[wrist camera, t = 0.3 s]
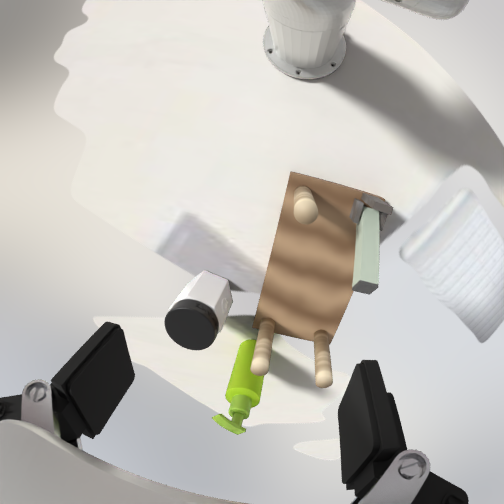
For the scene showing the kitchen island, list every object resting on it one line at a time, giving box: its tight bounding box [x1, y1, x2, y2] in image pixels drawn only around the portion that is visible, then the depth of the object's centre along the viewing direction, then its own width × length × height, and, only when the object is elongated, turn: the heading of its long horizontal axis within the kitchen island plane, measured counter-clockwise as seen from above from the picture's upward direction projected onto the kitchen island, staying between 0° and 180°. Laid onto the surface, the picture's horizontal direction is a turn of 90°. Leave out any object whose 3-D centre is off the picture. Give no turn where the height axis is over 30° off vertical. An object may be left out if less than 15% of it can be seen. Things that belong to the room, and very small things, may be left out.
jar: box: [165, 270, 233, 350], centre depth 45 cm, size 9×8×12 cm
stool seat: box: [250, 172, 393, 388], centre depth 39 cm, size 28×15×14 cm, turn 168°
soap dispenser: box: [212, 340, 264, 435], centre depth 45 cm, size 6×7×20 cm
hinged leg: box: [352, 206, 379, 294], centre depth 36 cm, size 12×3×3 cm
